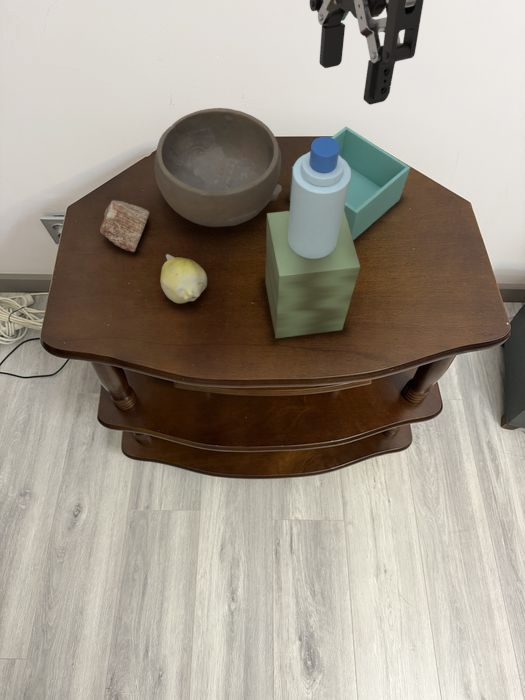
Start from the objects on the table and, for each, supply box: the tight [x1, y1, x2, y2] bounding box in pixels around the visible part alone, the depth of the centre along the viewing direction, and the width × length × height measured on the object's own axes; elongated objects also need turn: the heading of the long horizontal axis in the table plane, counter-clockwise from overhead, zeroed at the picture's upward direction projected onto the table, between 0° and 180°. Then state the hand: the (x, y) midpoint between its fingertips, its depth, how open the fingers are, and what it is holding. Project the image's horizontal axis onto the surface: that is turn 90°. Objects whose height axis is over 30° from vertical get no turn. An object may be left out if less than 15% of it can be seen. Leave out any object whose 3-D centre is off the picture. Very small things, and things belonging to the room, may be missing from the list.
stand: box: [264, 210, 361, 339], centre depth 66 cm, size 9×9×14 cm
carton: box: [288, 126, 411, 241], centre depth 78 cm, size 12×12×6 cm
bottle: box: [288, 136, 351, 259], centre depth 54 cm, size 6×6×13 cm
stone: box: [99, 200, 150, 253], centre depth 76 cm, size 7×6×5 cm
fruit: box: [159, 253, 208, 304], centre depth 71 cm, size 6×6×10 cm
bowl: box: [153, 107, 283, 228], centre depth 76 cm, size 17×18×10 cm
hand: (351, 82), depth 52 cm, fingers open, 8 cm apart
